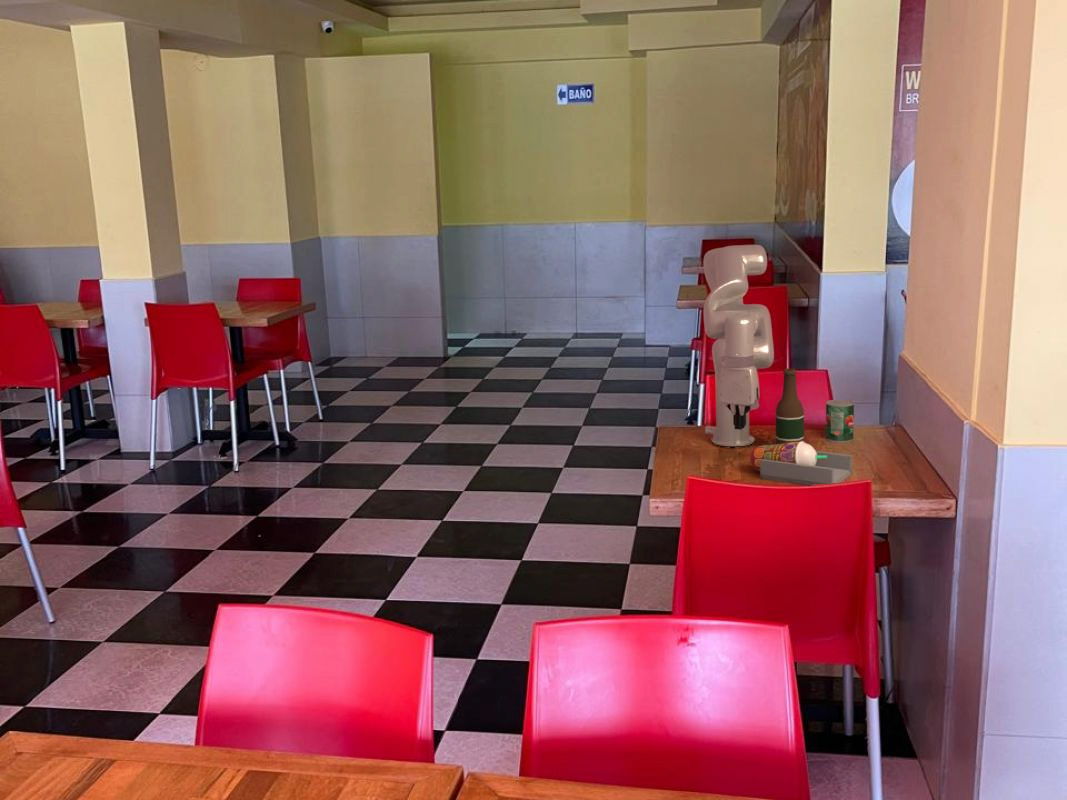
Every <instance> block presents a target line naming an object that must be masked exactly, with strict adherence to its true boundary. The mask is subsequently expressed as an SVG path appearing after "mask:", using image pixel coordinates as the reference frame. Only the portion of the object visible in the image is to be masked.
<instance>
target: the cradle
mask: <svg viewBox="0 0 1067 800" xmlns="http://www.w3.org/2000/svg"><path fill="white" fill-rule="evenodd" d="M816 453H817V456H825V455H827V458H817V463H816V465H815V466H811V465H804V464H796V463H788V462H781V461H773V460H766V459H762V460H760V471H759V472H760V473H759V474H760V480H768V481H774V482H780V483H781V482H782V483H789V484H794V485H803V486H808V485H813V484H831V483H839V484H840V483H842V482H843V481H844V480H845V479H847V478H849V476H851V475H852V473H853V455H852V454H844V453H836V452H827V451H819V450H816Z"/></svg>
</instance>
